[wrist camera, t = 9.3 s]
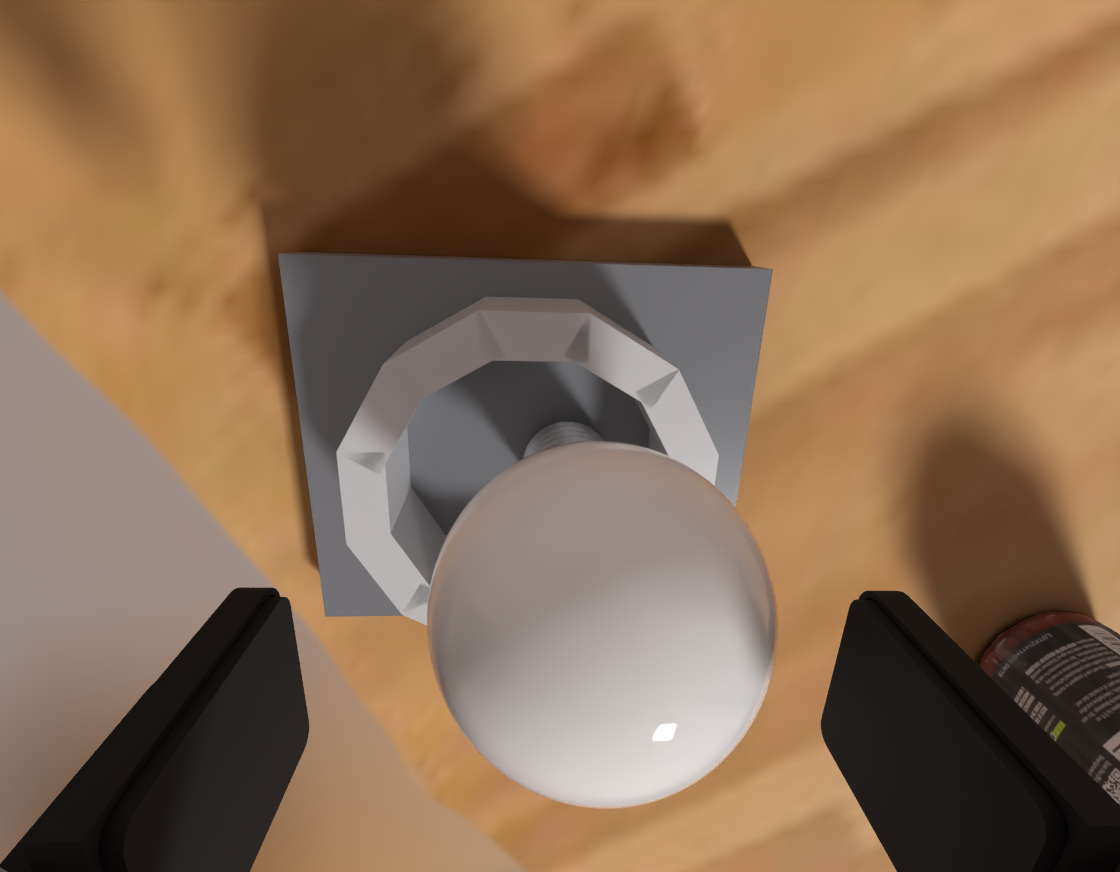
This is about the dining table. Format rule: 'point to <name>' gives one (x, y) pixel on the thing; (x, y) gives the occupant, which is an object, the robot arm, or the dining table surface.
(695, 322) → the socket holder
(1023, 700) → the supplement bottle
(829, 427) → the dining table surface
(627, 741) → the lightbulb
